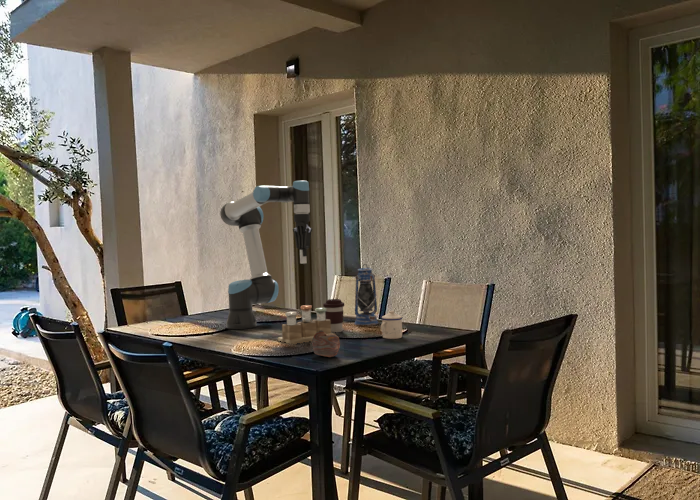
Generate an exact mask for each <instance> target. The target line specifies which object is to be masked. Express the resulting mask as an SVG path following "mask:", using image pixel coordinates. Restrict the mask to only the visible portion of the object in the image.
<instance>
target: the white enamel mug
mask: <svg viewBox="0 0 700 500" xmlns="http://www.w3.org/2000/svg"><path fill="white" fill-rule="evenodd" d="M381 321H382V322H381V324H380V330H381V333H382V338H383V339H389V340H394V339H395V340H396V339H397V340H398V339H401V338H402V337H403V317H402V315H399V314H398V313H395V311H394V310H389V312H388V313H386V314H385V315H382V316H381Z"/></svg>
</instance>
